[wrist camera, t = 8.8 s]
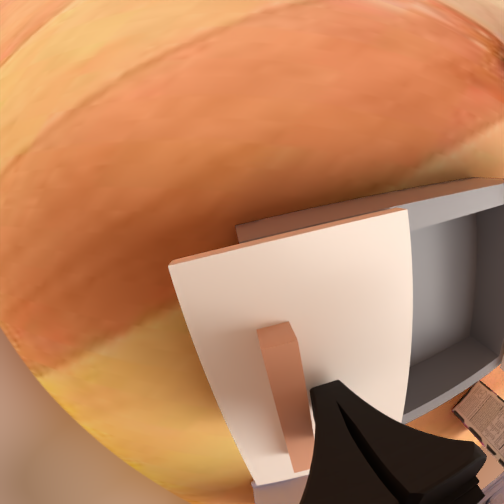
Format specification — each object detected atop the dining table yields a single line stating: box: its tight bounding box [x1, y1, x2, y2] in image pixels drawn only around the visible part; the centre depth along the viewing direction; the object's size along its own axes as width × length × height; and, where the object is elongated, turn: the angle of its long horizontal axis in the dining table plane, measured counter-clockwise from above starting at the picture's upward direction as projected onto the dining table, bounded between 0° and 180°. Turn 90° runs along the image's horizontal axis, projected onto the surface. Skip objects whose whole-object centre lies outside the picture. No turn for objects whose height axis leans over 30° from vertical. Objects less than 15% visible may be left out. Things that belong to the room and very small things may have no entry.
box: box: [235, 177, 504, 424], centre depth 15 cm, size 18×14×5 cm
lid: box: [168, 207, 413, 485], centre depth 11 cm, size 9×14×2 cm, turn 13°
